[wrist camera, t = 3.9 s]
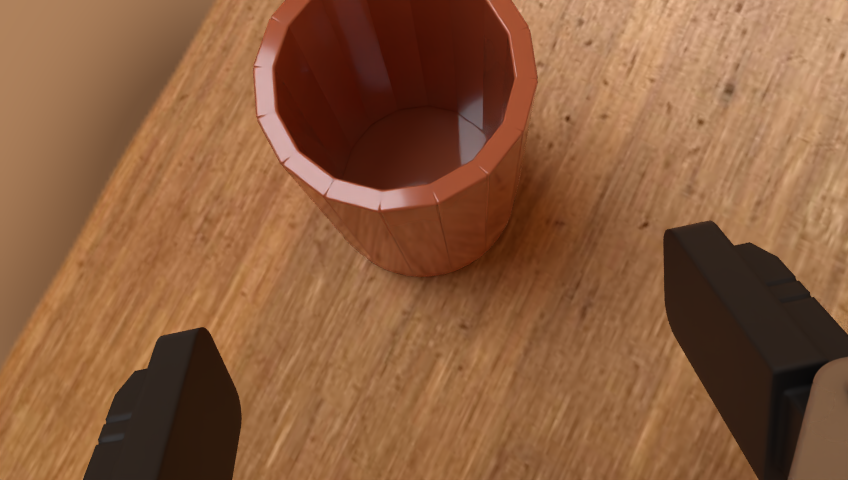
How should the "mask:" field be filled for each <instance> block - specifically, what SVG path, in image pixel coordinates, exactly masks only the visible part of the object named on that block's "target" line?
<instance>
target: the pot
mask: <svg viewBox="0 0 848 480" xmlns="http://www.w3.org/2000/svg"><path fill="white" fill-rule="evenodd" d="M253 78H254V93H255V107H256V117H257V120H258V123H259V125H260V127H261V129H262V131H263V132H264V134H265V136H266V138H267V140H268V142H269V144H270V145H271V147H272V149H273V151H274V153H275V155H276V157H277V158H278V160H279V162H280V164H281V165H282V166H283V167H284V168H285V170H286V171H287V172H288V173H289V174H290V175H291V177H292V178H293V179H294V180H295V181H296V182H297V183H298V185H299V186H300V187H301V188H302V189H303V190H304V192H305V193H306V194H307V195H308V196H309V197H310V199H311V200H312V201H313V202H314V203H315V204H316V205H317V207H318V208H319V209H320V210H321V211H322V212H323V214H324V215H325V216H326V217H327V218H328V219H329V221H330V222H331V223H332V224H333V225H334V226H335V227H336V229H337V230H338V231H339V232H340V233H341V234H342V236H343V237H344V238H345V239H346V240H347V241H348V243H349V244H350V245H352V246H353V247H354V248H356V249H357V250H358V251H359V252H360V253H361V254H362V255H363V256H364V257H366V258H367V259H368V260H370V261H371V262H373V263H374V264H376V265H378V266H380V267H382V268H384V269H386V270H389V271H392V272H394V273H397V274H402V275H407V276H417V277H427V276H437V275H442V274H447V273H450V272H453V271H456V270H459V269H461V268H463V267H465V266H467V265H469V264H471V263H472V262H474V261H475V260H477V259H478V258H480V257H481V256H482V255H483V254H484V253H485V252H487V251H488V250H489V249H490V248H491V247H492V245H493V244H494V243H495V242H496V241H497V240H498V238H499V237H500V235H501V234H502V232H503V231H504V229H505V227H506V225H507V224H508V221H509V219H510V215H511V212H512V209H513V205H514V201H515V197H516V193H517V189H518V184H519V179H520V174H521V168H522V163H523V158H524V152H525V147H526V142H527V136H528V131H529V126H530V120H531V115H532V110H533V104H534V99H535V93H536V88H537V83H538V81H537V79H538V76H537V70H536V63H535V57H534V51H533V45H532V38H531V32H530V29H529V27H528V25H527V23H526V22H525V20H524V18H523V17H522V15H521V14H520V12H519V11H518V9H517V8H516V6H515V5H514V3H513V2H512V0H285V1H284V2H283V3H282V4H281V6H280V7H279V8H278V9H277V10H276V11H275V13H274V14H273V15H272V16H271V19H269V22H268V25H267V28H266V31H265V33H264V36H263V39H262V42H261V45H260V48H259V51H258V53H257V56H256V59H255V62H254V68H253Z"/></svg>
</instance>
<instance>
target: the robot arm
mask: <svg viewBox="0 0 848 480" xmlns="http://www.w3.org/2000/svg"><path fill="white" fill-rule="evenodd" d="M663 246H664V293H665V308H666V313H667V317H668V321H669V324H670V327H671V329H672V332H673V334H674V336H675V338H676V339H677V341H678V343H679V345H680V346H681V348H682V350H683V351H684V353H685V355H686V357H687V358H688V360H689V362H690V363H691V365H692V367H693V368H694V370H695V372H696V374H697V375H698V377H699V379H700V380H701V382H702V384H703V385H704V387H705V389H706V391H707V392H708V394H709V396H710V397H711V399H712V401H713V402H714V404H715V406H716V408H717V409H718V411H719V413H720V414H721V416H722V418H723V420H724V421H725V423H726V425H727V426H728V428H729V430H730V431H731V433H732V435H733V437H734V438H735V440H736V442H737V443H738V445H739V447H740V448H741V450H742V452H743V454H744V455H745V457H746V459H747V460H748V462H749V464H750V465H751V467H752V469H753V471H754V472H755V474H756V476H757V477H758V479H759V480H848V334H847V333H846V332H845V331H844V330H843V329H842V328H841V327H840V326H839V324H838V323H837V322H836V321H835V320H834V319H833V318H832V317H831V316H830V315H829V313H828V312H827V311H826V310H825V309H824V308H823V307H822V306H821V305H820V303H819V302H818V301H817V300H816V299H815V298H814V297H812V298H811V296H810V292H809V291H808V290H807V289H806V288H805V287H804V286H803V285H802V283H801V282H800V281H796V278H795V276H794V275H793V273H792V272H791V271H790V270H789V269H788V268H787V267H786V266H785V265H784V263H783V262H782V261H781V260H780V259H779V258H778V257H777V256H775V255H773V254H771V253H769V252H767V251H765V250H763V249H761V248H760V247H758V246H756V245H754V244H752V243H750V242H749V243H745V244H740V245H735V246H734V245H733V244H732V243H731V242H730V240H729V239H728V238H727V237H726V236H725V234H724V233H723V232H722V231H721V230H720V228H719V227H718V226H717V225H716V224H715V223H714V222H713V221H705V222H700V223H696V224H691V225H686V226H682V227H677V228H672V229H667V230H666V231H665V233H664V239H663ZM241 419H242V418H241V406H240V400H239V396H238V393H237V390H236V388H235V386H234V383H233V381H232V379H231V377H230V375H229V373H228V371H227V368H226V366H225V364H224V362H223V360H222V358H221V356H220V353H219V351H218V349H217V347H216V345H215V343H214V341H213V338H212V336H211V334H210V333H209V331H208V330H207V329H206V328H204V327H201V328H196V329H192V330H187V331H182V332H178V333H173V334H168V335H164V336H160V337H159V338H158V340H157V342H156V345H155V348H154V350H153V353H152V356H151V359H150V362H149V365H148V368H147V369H143V370H138V371H135V372H134V373H133V374H132V375H131V376H130V378H129V379H128V380H127V381H126V383H125V384H124V385H123V386H122V387H121V389H120V390H119V391H118V392H117V393H116V395H115V397H114V399H113V402H112V404H111V407H110V410H109V412H108V415H107V418H106V424H105V425H103V428H102V431H101V433H100V436H99V439H98V441H99V445H96V447H95V449H94V452H93V454H92V457H91V460H90V462H89V465H88V468H87V470H86V473H85V475H84V478H83V480H232V477H233V471H234V465H235V459H236V453H237V447H238V441H239V435H240V429H241Z"/></svg>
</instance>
